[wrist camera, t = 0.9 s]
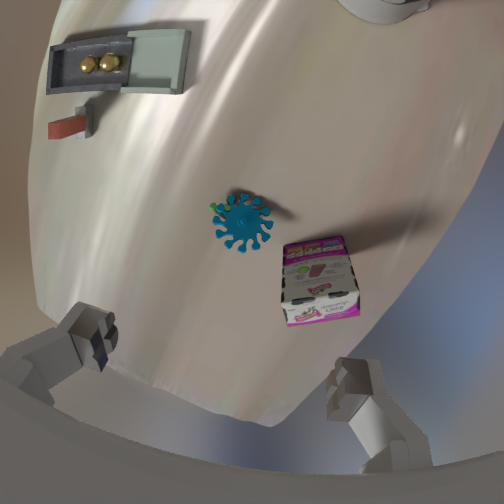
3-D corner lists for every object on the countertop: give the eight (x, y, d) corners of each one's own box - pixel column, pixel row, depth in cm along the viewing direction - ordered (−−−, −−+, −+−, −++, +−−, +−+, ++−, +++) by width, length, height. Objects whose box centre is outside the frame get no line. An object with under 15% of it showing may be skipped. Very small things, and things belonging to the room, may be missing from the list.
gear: (285, 214, 50) (253, 263, 48) (275, 224, 56) (247, 269, 53) (229, 177, 50) (195, 224, 47) (225, 191, 56) (194, 234, 53)
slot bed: (59, 46, 39) (50, 46, 36) (136, 36, 38) (127, 34, 36) (55, 93, 44) (46, 94, 41) (129, 89, 43) (120, 90, 41)
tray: (136, 33, 38) (128, 31, 35) (191, 31, 38) (185, 28, 35) (129, 92, 44) (120, 93, 41) (182, 94, 43) (175, 94, 41)
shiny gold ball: (107, 54, 39) (96, 53, 36) (124, 53, 39) (114, 51, 36) (105, 72, 41) (94, 73, 38) (122, 72, 41) (111, 71, 38)
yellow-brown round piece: (88, 56, 39) (76, 56, 36) (103, 54, 39) (92, 54, 36) (86, 74, 41) (74, 75, 38) (101, 73, 41) (90, 73, 38)
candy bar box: (288, 267, 58) (285, 328, 43) (282, 245, 55) (278, 303, 41) (346, 258, 55) (361, 317, 41) (343, 234, 53) (359, 290, 39)
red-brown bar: (82, 105, 45) (48, 113, 37) (93, 105, 45) (59, 113, 37) (81, 135, 48) (48, 148, 40) (92, 136, 48) (60, 148, 40)
